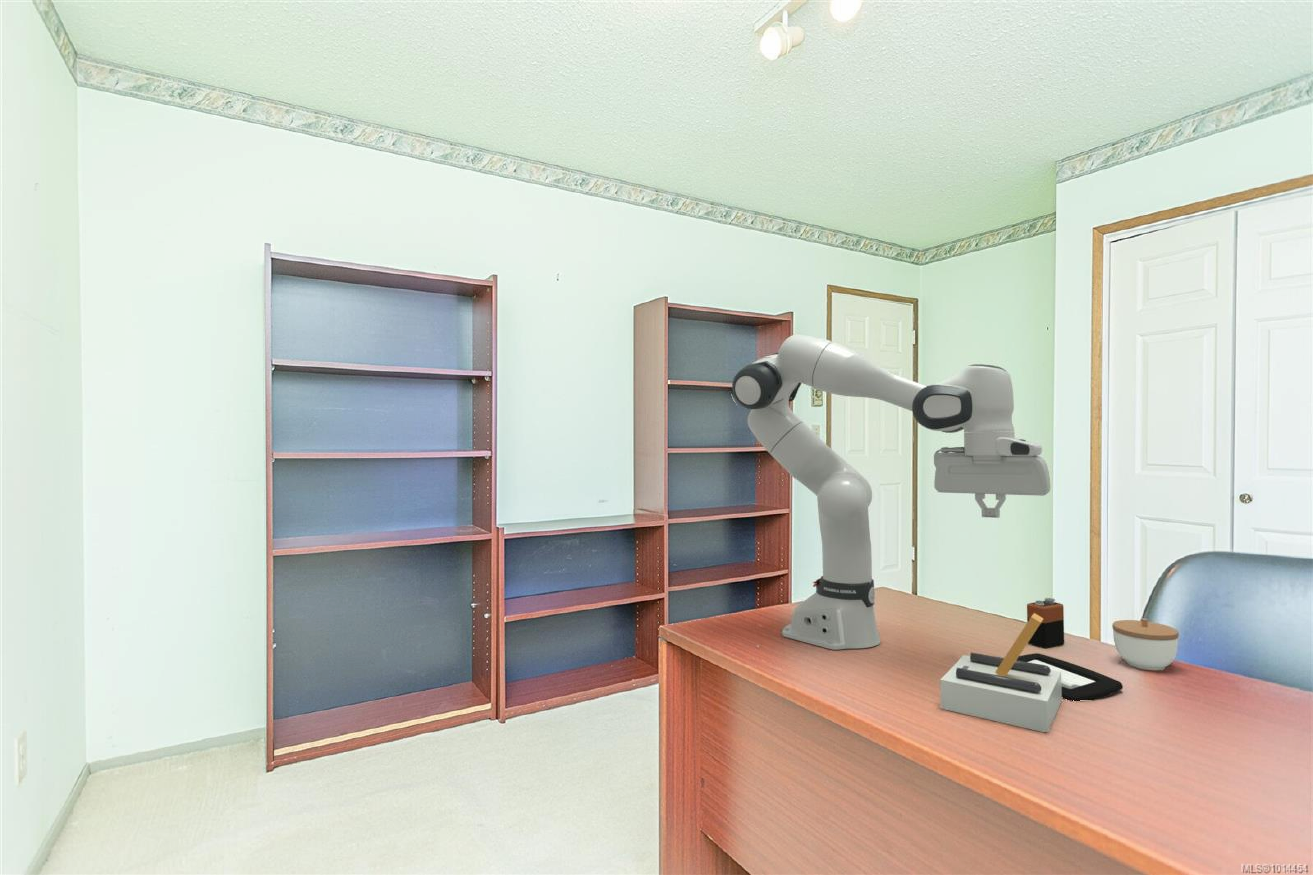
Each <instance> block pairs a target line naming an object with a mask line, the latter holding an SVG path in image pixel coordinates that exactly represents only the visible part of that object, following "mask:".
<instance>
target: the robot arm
mask: <svg viewBox="0 0 1313 875" xmlns="http://www.w3.org/2000/svg"><path fill="white" fill-rule="evenodd" d="M1009 373H1010V372H1008V371H1007V369H1006V370H1005V369H1004V368H1002V367H1000V366H997V365H993V364H991V365H990V364H982V363H981V364H979V363H977V364H975V363H974V364H970V365H967V366H966V367H965V368H964V369H963V370H961V371H960V372H958V373H956V374H955V375H952V376H951V377H948V378H946V379H944V380H942V381H941V380H940V381H938V382H935V383H933V384H930V385H926V384H922V383H919V382H917V381H914V380H911V379H908V378H904V377H902V376H900V375H896V374H894V373H891V371H890V372H889V371H888V370H886V369H884V368H883V367H881V366H879V365H878V364H876V363H874V362H873V361H871V359H868V358H867V357H865V356H864V355H862V354H861V353H858V351H855V350H854V349H852V348H850V347H847V346H845V345H843V344H840V343H838V342H835V341H832V340H829V339H827V338H826V339H825V338H821V337H818V336H813V335H808V334H793V335H790V336H789V337H787V338H786V339H785V340H784V341H783V342H782V344H781V346H780V348H779V350H778V352H776V353H772V354H770V355H767V356H763V357H761V358H758V359H757V360H756V361H754V362H752V363H751V364H748V365H745V366H744V367H742V368H741V369H740V370H739V371H738V372H737V373H736V374H735V375H734V377H733V380H732V385H731V388H732V394H733V398H734V400H735V401H737V403H738V404H739V405H740V406H742V407H744V408H746V409H749V410H750V412H749V414H748V416H747V420H746V422H747V426H748V428H749V429H750V431H751V432H752V434H753V436H754V437H755V438H756V440H757V441H758V442H759V444H760V445H761V446H762V447H763V448H764V449H765V451H767V452H768V454H770V455H771V456H772V458H773V459H774V460H776V461H777V463H778V464H780V465H781V466H782V468H783V469H784V470H786V472H787V473H788V474H790V475H791V477H793V479H795V480H797V481H798V482H799V483H801V484H802V485H803V486H804V487H805V488H807V489H808V490H810V491H811V492H812V493H813V494H814V495H815V496H817V497H816V498H817V499H816V500H817V510H818V511H817V512H818V521H819V531H820V536H821V538H820V539H821V548H822V553H821V554H822V575H821V576H820V578H818V579H816V580H815V581H813V582H812V583H813V585H812V588H814V587H815V588H816V590H815V593H813V594H812V595H810V596H808V598H806V599H805V600H803V601H802V602H801V603H799V604H798V605H796V607H795V608H794V611H793V613H792V617H791V623H790V624H787V625H785V627H783V629H782V631H781V636H783V637H785V638H788V639H792V640H795V641H796V640H797V641H798V642H799V641H800V642H803V643H806V644H811V645H814V646H818V647H821V648H825V649H829V650H834V651H835V650H837V651H839V650H845V649H865V648H871V647H875V646H877V645H879V644H881V641H882V640H881V637H880V634H879V630H878V626H877V620H876V614H875V608H874V605H875V601H876V600H875V599H876V589H875V583H874V582H875V581H874V579H873V572H872V571H873V568H872V566H873V564H872V561H873V560H872V542H871V533H870V532H871V531H870V519H869V506H870V505H871V502H872V499H873V490H872V486H871V484H870V483H869V480H867V479H866V478H865V477H864V476H863V475H862V474H861V473H860V472H859V471H857V469H855V468H854V467H853V466H852V465H850V464H849V462H847V461H846V460H845V459H844V458H843V457H841V456H840V455H839V454H838V452H836V451H835V450H834V449H832V448H831V447H830V446H828V444H827V443H825V441H823V440H822V439H821V438H820V437H819V436H818V435H817V434H816V433H815V432H814V431H813V430H812V429H811V428H810V427H809V426H808V425H807V424H806V423H805V422H804V421H803V420H802V419H800V417H798V416H797V415H796V414H795V413H794V412H793V411H792V409H791V407H790V405H789V402H790V403H791V402H792V401H794V400H795V399H796V396H797V394H798V391H799V389H800V387H801V385H806V386H808V387H811V388H813V389H816V390H818V391H820V392H821V391H822V392H825V393H828V394H833V395H838V396H843V397H851V398H852V397H853V398H854V397H855V398H868V399H876V400H880V401H882V402H886V403H888V404H892V405H894V406H897V407H900V408H902V409H906V410H908V411H911V412H912V415H913V418H914V419H915V420H916V422H917V423H918V424H920V426H922V427H924V428H925V429H928V430H930V431H936V432H942V433H946V434H948V433H949V434H952V433H953V434H954V433H959V432H961V431H963V445H964V446H956V447H955V446H954V447H948V446H944V447H941V448H939V449H938V450H936V451H935V452H934V454H933V464H934V466H935V472H934V474H935V475H934V482H933V483H934V485H933V486H934V489H935V490H936V491H937V493H945V494H947V493H948V494H949V493H950V494H972V495H973V494H974V500H975V502H976V503H977V505H978V506H979V508H980V509H981V518H992V519H993V518H995V519H996V518H997V519H999V518H1000V517H1001V516H1000V515H1001V511H1000V509H1001V508H1002V506H1003V504H1004V503H1005V502H1006V500H1007V498H1006V497H1007V495H1008V496H1009V495H1010V496H1011V495H1012V496H1015V495H1016V496H1038V497H1039V496H1040V497H1041V496H1043V497H1044V496H1046V495H1048V494H1049V492H1051V478H1050V477H1051V476H1050V471H1049V468H1048V464H1047V461H1046V460H1045V459H1044V458H1043V457H1041V456H1040V455H1041V454H1042V452H1043V448H1042V446H1041V444H1038V443H1036V442H1031V441H1029V440H1026V439H1022V438H1021V439H1020V438H1016V436H1015V427H1014V424H1013V420H1012V419H1013V412H1014V409H1015V407H1014V406H1015V404H1014V389H1013V383H1012V382H1013V381H1012V378H1011V375H1010V374H1009ZM986 495H995V500H996V501H997V503H996V505H995V506H994V507H988V506H987V505H986V503H985V502H984V500H985V499H986Z"/></svg>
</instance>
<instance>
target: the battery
mask: <svg viewBox="0 0 1313 875" xmlns="http://www.w3.org/2000/svg"><path fill="white" fill-rule="evenodd" d="M1055 601H1056V599H1055V598H1052V597H1045V598H1044V600H1035V602H1030V603H1027V604H1026V624H1027V623H1028V621H1029V619H1030V618H1031V616H1032V615H1033V614H1034V613H1035V614H1037V615H1038V616H1040V617H1042V618H1043V621H1042V622H1041V624H1040V625H1039V627H1038V628H1037V630H1036V631H1035V633H1034V634H1033V636H1032V637H1031V639H1030V640H1029V642H1028V643H1027V644H1029V645H1031V644H1032V645H1031V646H1035V647H1038V648H1041V647H1042V649H1048V648H1054V647H1058V646H1062V645H1064V644H1065V625H1064V624H1065V622H1064V621H1065V620H1064V619H1065V618H1064V616H1065V615H1064V614H1065V612H1064V609H1065V608H1064V604H1063V603H1060V602H1055Z"/></svg>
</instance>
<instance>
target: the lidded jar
mask: <svg viewBox="0 0 1313 875" xmlns="http://www.w3.org/2000/svg"><path fill="white" fill-rule="evenodd" d="M1140 619H1141V620H1136V619H1135V620H1134V619H1123V620H1116V621H1113V622H1112V624H1111V625H1112V632H1113V636H1112V637H1113V641H1114V646H1115V649H1116V650H1117V652H1118V655H1120V657H1122V658H1123V660H1124V661H1126V664H1127V665H1129V666H1131V667H1133V668H1137V669H1140V670H1146V671H1155V672H1157V671H1163V670H1165V669H1166V667H1169V665H1170V664H1172V663H1173V661H1174V660H1175V659H1176V656H1177V654H1178V648H1179V637H1180V636H1179V631H1178V630H1177V629H1176V628H1174V627H1172V626H1169V625H1167V624H1163V623H1162V624H1161V623H1159V622H1155V621H1154V622H1152V621H1148V618H1140Z"/></svg>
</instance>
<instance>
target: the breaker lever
mask: <svg viewBox="0 0 1313 875" xmlns="http://www.w3.org/2000/svg"><path fill="white" fill-rule="evenodd" d="M1042 621H1043V618H1042V617H1040V616H1038V615H1037V614H1035V613H1034V614H1033V615H1032V616H1031V618H1030V619H1029V621H1028V623H1027V622H1026V623H1025V626H1024V627H1023V628H1022V630H1021V631H1020V634H1019V635H1018V636H1017V638H1016V640H1015V641H1014V642H1013V644H1012V645H1011V647H1010V648H1009V650H1008V652H1007V653H1006V655H1005V656H1004V657H1003V658H1004V659H1003V661H1002V663H1001V664H1000V666H999V667H998V669H997V670H996V672H995V673H997V674H998V675H1000V676H1004V677H1006V675H1007V674H1008V672H1009V671H1010V669H1011V668H1012V666H1013V665H1014V663H1015V662H1016V660H1017V659H1018V657H1019V656H1021V654H1022V652H1023V651H1024V650H1025V648H1026V647H1027V645H1028V644H1029V643H1028V642H1029V640H1030V639H1031V637H1032V636H1033V634H1034V633H1035V631H1036V630H1037V628H1038V627H1039V625H1040V624H1041V622H1042Z"/></svg>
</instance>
